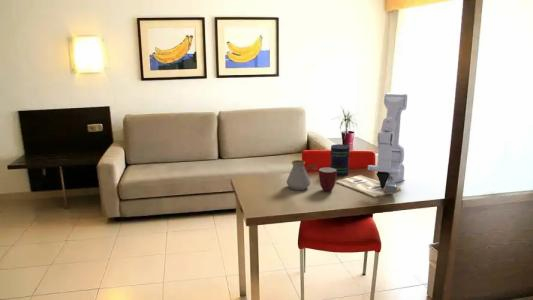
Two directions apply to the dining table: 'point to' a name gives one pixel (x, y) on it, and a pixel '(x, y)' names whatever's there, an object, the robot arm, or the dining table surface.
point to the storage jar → (340, 159)
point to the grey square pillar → (390, 185)
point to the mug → (327, 178)
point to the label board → (365, 186)
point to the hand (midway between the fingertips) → (382, 187)
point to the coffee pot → (299, 176)
